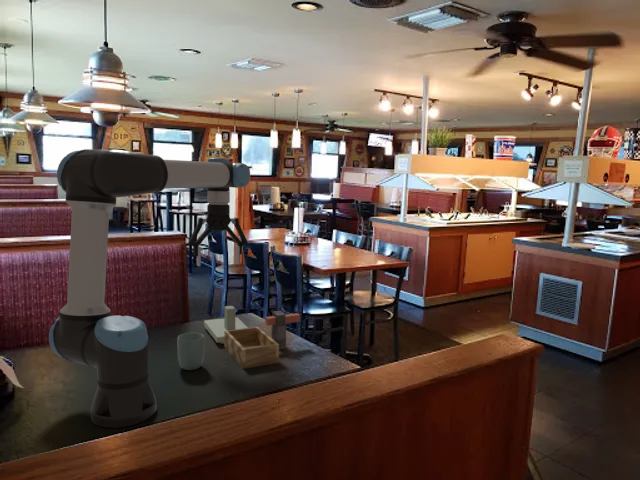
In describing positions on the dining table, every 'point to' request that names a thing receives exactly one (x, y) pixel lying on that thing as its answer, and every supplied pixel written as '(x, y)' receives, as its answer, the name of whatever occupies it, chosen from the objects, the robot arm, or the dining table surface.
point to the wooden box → (257, 343)
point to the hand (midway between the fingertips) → (218, 264)
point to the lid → (224, 324)
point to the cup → (190, 350)
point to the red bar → (288, 319)
